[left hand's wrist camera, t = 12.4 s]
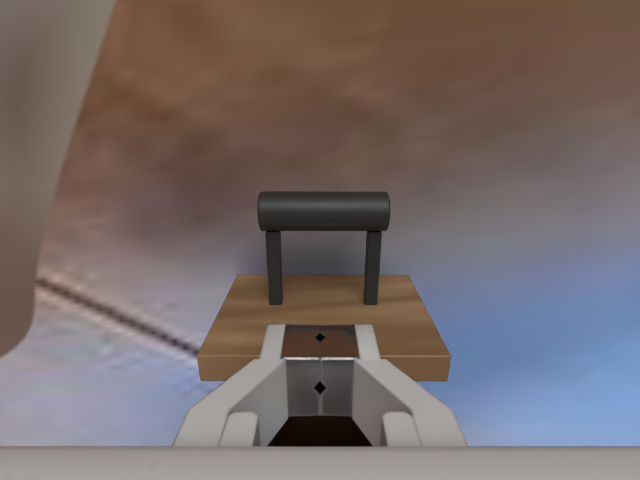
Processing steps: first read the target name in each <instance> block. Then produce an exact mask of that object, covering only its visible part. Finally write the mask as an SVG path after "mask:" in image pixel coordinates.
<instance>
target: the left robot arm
mask: <svg viewBox="0 0 640 480" xmlns="http://www.w3.org/2000/svg"><path fill="white" fill-rule="evenodd" d="M292 416H347V417H352V419H353V420H354V422H355V423H356V424H357V426H358V427H359V428H360V430H361V431H362V432H363V434H364V435H365V436H366V438H367V439H368V440H369V442H370V443H371V444H372V446H268V444H269V443H270V442H271V441H272V439H273V438H274V437H275V435H276V434H277V433H278V431H279V430H280V429H281V427H282V426H283V425H284V423H285V422H286V421H287V419H288V417H292ZM0 480H640V446H468V445H467V443H466V440H465V438H464V436H463V434H462V431H461V429H460V427H459V424H458V422H457V420H456V418H455V415H454V413H453V411H452V410H451V409H450V408H449V407H447V406H446V405H445V404H444V403H442V402H441V401H440V400H438V399H437V398H436V397H434V396H433V395H432V394H431V393H429V392H428V391H427V390H425V389H424V388H423V387H421V386H420V385H419V384H418V383H416V382H415V381H414V380H412V379H411V378H410V377H408V376H407V375H406V374H405V373H403V372H402V371H401V370H399V369H398V368H397V367H396V366H394V365H393V364H392V363H390V362H389V361H388V360H386V359H381V357H380V353H379V349H378V345H377V341H376V337H375V333H374V329H373V325H372V324H354V325H306V324H286V325H285V324H269V325H268V326H267V329H266V333H265V337H264V341H263V345H262V349H261V353H260V357H259V359H254V360H252V361H251V362H250V363H248V364H247V365H246V366H244V367H243V368H242V369H241V370H239V371H238V372H237V373H235V374H234V375H233V376H231V377H230V378H229V379H228V380H226V381H225V382H224V383H222V384H221V385H220V386H218V387H217V388H216V389H214V390H213V391H212V392H211V393H209V394H208V395H207V396H205V397H204V398H203V399H201V400H200V401H199V402H198V403H196V404H195V405H194V406H192V407H191V408H190V409H188V411H187V413H186V416H185V418H184V420H183V422H182V425H181V427H180V429H179V431H178V434H177V436H176V438H175V440H174V443H173V445H172V446H0Z"/></svg>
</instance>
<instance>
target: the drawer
mask: <svg viewBox="0 0 640 480" xmlns="http://www.w3.org/2000/svg"><path fill="white" fill-rule="evenodd" d="M389 221H390V200H389V195H388V193H387V192H260V194H259V198H258V223H259V227H260V230H262V231H266V250H267V269H268V275H237V277H236V279H235V281H234V283H233V285H232V287H231V289H230V291H229V293H228V295H227V297H226V299H225V301H224V303H223V305H222V307H221V309H220V311H219V313H218V315H217V317H216V319H215V321H214V323H213V325H212V327H211V329H210V331H209V333H208V335H207V337H206V339H205V341H204V343H203V345H202V347H201V349H200V351H199V353H198V355H197V358H198V366H199V373H200V380H201V381H226V380H228V379H229V378H230V377H231V376H233V375H234V374H235V373H237V372H238V371H239V370H241V369H242V368H243V367H244V366H246V365H247V364H248V363H250V362H251V361H252V360H254V359H259V357H260V353H261V349H262V345H263V341H264V337H265V333H266V329H267V326H268V325H269V324H285V325H286V324H306V325H354V324H372V325H373V329H374V333H375V337H376V341H377V345H378V349H379V353H380V357H381V359H386V360H388V361H389V362H390V363H392V364H393V365H394V366H396V367H397V368H398V369H399V370H401V371H402V372H403V373H405V374H406V375H407V376H408V377H410V378H411V379H412V380H414V381H447V380H448V373H449V366H450V360H451V355H450V353H449V351H448V349H447V348H446V346H445V344H444V342H443V340H442V338H441V336H440V334H439V332H438V330H437V329H436V327H435V325H434V323H433V321H432V319H431V317H430V315H429V313H428V311H427V310H426V308H425V306H424V304H423V302H422V300H421V298H420V296H419V294H418V292H417V291H416V289H415V287H414V285H413V283H412V281H411V279H410V277H409V275H379V269H380V253H381V237H382V233H381V231H386V230H387V229H388V226H389ZM280 231H367V237H366V258H365V275H282V260H281V234H280ZM268 446H372V444H371V443H370V442H369V440H368V439H367V438H366V436H365V435H364V434H363V432H362V431H361V430H360V428H359V427H358V426H357V424H356V423H355V422H354V420H353V419H352V417H347V416H292V417H288V419H287V421H286V422H285V423H284V425H283V426H282V427H281V429H280V430H279V431H278V433H277V434H276V435H275V437H274V438H273V439H272V441H271V442H270V443H269V444H268Z"/></svg>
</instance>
